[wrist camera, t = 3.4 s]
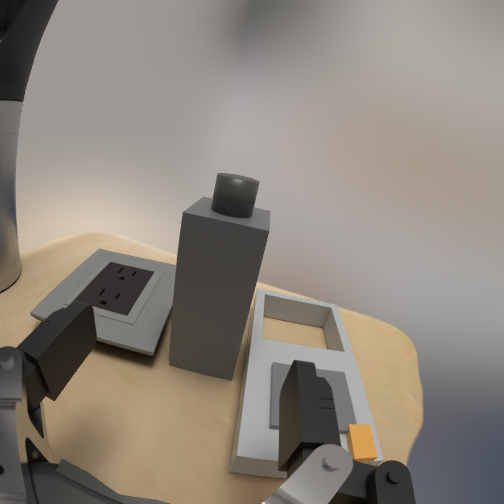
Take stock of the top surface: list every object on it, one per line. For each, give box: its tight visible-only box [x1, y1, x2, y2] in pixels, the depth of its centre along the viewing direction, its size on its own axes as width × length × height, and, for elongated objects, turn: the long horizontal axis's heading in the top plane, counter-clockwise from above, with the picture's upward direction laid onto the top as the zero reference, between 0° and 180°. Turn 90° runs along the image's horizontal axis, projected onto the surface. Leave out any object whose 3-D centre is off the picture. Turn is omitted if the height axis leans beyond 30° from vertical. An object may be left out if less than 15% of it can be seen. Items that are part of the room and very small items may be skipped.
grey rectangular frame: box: [229, 289, 383, 478], centre depth 19 cm, size 8×17×3 cm, turn 176°
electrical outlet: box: [30, 249, 176, 356], centre depth 23 cm, size 13×10×2 cm
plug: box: [169, 173, 270, 380], centre depth 18 cm, size 4×4×13 cm
